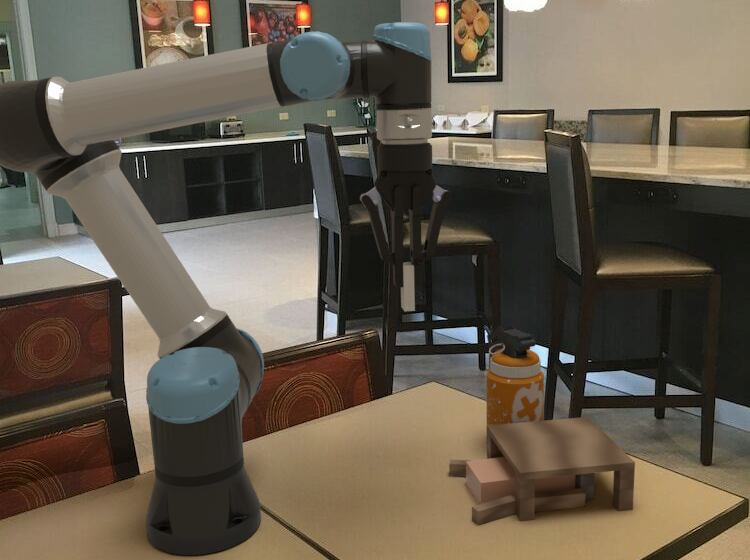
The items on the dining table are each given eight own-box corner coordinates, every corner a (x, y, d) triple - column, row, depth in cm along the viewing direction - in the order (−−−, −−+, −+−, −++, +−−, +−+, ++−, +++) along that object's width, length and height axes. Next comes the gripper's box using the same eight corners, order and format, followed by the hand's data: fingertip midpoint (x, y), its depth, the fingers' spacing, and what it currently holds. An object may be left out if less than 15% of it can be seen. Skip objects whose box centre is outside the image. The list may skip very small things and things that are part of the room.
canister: (506, 464, 123) (507, 341, 118) (469, 438, 132) (469, 323, 128) (553, 453, 126) (556, 332, 122) (514, 428, 136) (515, 316, 132)
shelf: (474, 525, 105) (474, 477, 104) (447, 471, 121) (446, 428, 119) (632, 509, 108) (635, 462, 107) (586, 458, 124) (587, 416, 122)
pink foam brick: (480, 509, 110) (480, 483, 109) (466, 486, 117) (465, 461, 116) (575, 497, 113) (575, 471, 112) (555, 475, 119) (555, 450, 119)
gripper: (360, 144, 104) (366, 318, 109) (457, 141, 105) (458, 312, 111) (354, 142, 111) (359, 305, 116) (445, 138, 113) (446, 299, 118)
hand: (407, 308), depth 113 cm, fingers closed
